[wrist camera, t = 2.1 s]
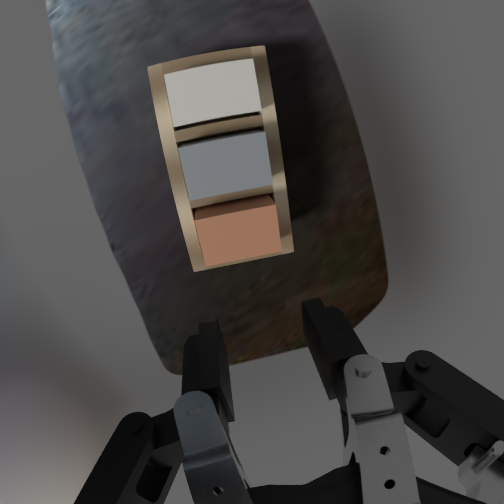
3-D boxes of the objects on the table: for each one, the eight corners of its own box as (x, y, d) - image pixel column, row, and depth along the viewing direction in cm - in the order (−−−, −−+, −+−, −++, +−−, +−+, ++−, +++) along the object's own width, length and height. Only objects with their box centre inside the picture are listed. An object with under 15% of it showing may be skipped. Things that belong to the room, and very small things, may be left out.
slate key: (182, 144, 20) (177, 148, 17) (258, 129, 20) (265, 131, 18) (192, 190, 22) (189, 201, 19) (265, 176, 22) (273, 184, 19)
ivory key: (170, 80, 18) (163, 74, 15) (247, 66, 18) (252, 58, 16) (178, 126, 20) (173, 127, 17) (255, 111, 20) (261, 110, 17)
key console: (160, 76, 21) (147, 66, 16) (253, 59, 22) (264, 45, 17) (196, 243, 29) (193, 271, 24) (279, 227, 29) (293, 251, 24)
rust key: (196, 207, 22) (194, 220, 20) (267, 193, 23) (275, 204, 20) (206, 249, 24) (205, 266, 21) (273, 235, 24) (281, 251, 22)
